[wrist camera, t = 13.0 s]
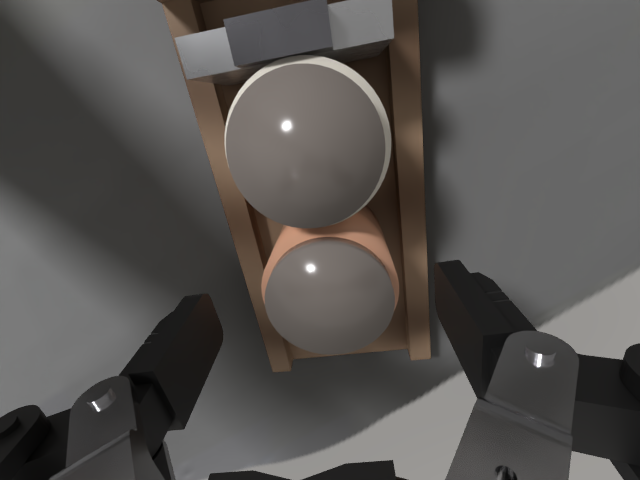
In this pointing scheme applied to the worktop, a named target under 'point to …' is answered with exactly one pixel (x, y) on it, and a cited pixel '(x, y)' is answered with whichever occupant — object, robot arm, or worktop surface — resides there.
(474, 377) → the robot arm
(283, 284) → the terracotta jar
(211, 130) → the lane
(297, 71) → the cream jar
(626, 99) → the worktop surface
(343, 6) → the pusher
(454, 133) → the worktop surface
